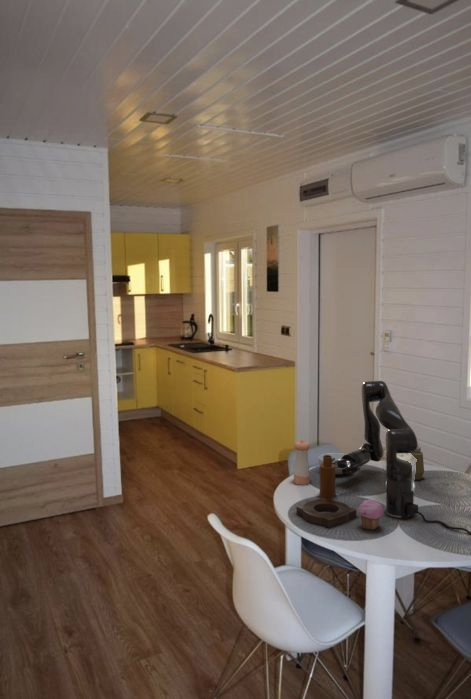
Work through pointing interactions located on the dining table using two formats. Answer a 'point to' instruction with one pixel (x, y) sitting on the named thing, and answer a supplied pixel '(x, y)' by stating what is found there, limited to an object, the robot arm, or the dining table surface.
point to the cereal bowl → (337, 457)
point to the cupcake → (370, 514)
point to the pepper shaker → (301, 463)
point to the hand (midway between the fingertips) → (334, 469)
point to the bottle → (327, 478)
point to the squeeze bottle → (418, 463)
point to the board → (327, 519)
